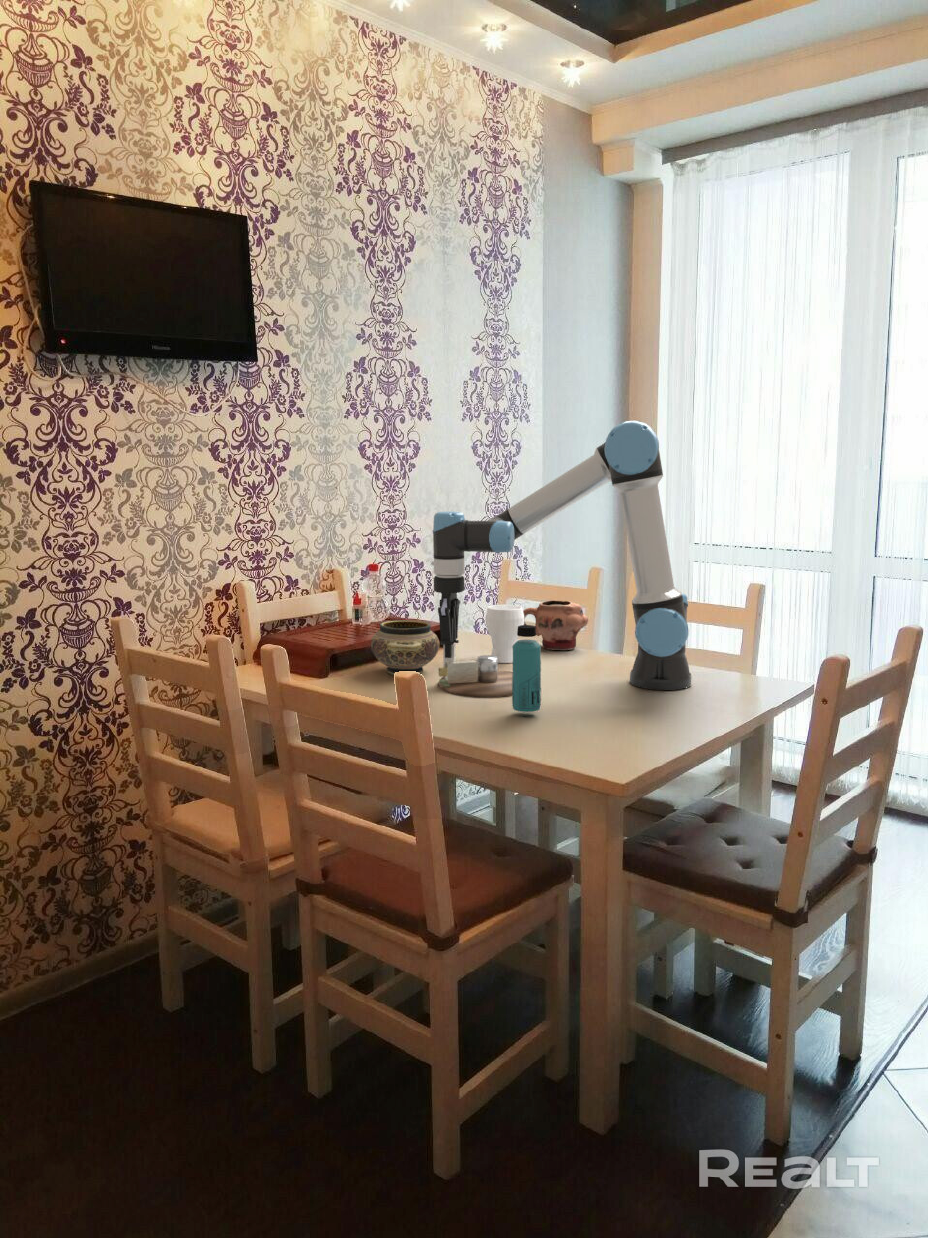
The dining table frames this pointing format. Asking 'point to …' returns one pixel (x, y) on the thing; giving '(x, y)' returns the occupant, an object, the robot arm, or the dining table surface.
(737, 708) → the dining table surface
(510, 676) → the round wooden board
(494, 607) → the cup
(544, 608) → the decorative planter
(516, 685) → the beverage bottle
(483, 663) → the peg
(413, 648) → the ceramic bowl
